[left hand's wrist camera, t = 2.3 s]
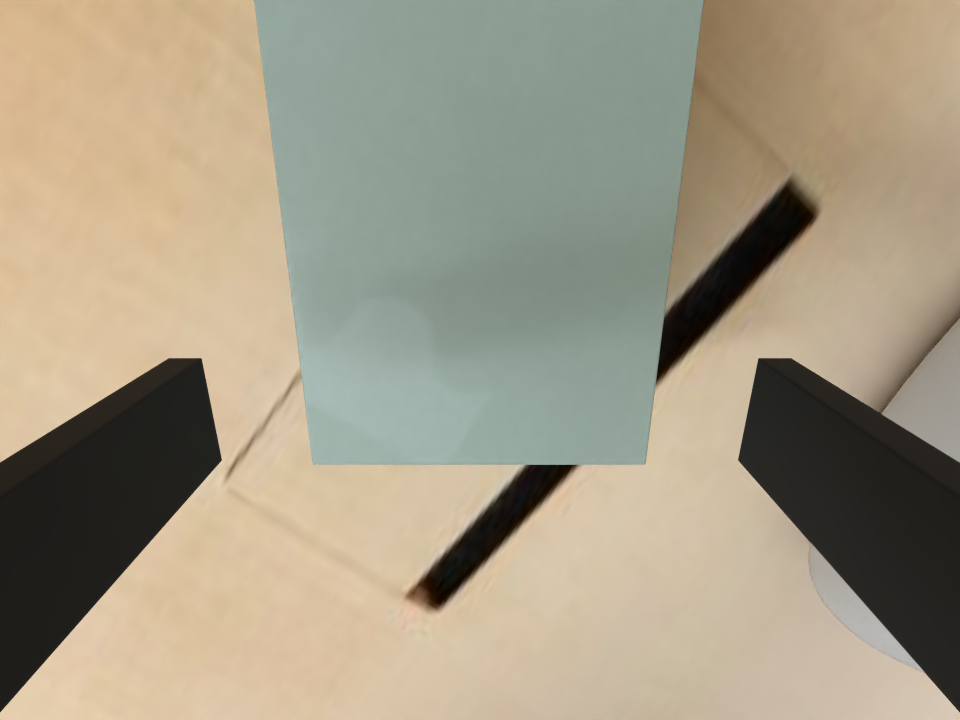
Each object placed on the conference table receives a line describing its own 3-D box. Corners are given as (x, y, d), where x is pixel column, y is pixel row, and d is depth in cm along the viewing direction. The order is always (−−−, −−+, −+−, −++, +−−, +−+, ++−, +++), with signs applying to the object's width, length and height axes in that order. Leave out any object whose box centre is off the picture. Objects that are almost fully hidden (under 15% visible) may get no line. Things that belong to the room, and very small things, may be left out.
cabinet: (335, -91, 21) (213, -315, 11) (622, -91, 21) (744, -313, 11) (370, 362, 28) (312, 465, 18) (588, 362, 28) (646, 465, 18)
